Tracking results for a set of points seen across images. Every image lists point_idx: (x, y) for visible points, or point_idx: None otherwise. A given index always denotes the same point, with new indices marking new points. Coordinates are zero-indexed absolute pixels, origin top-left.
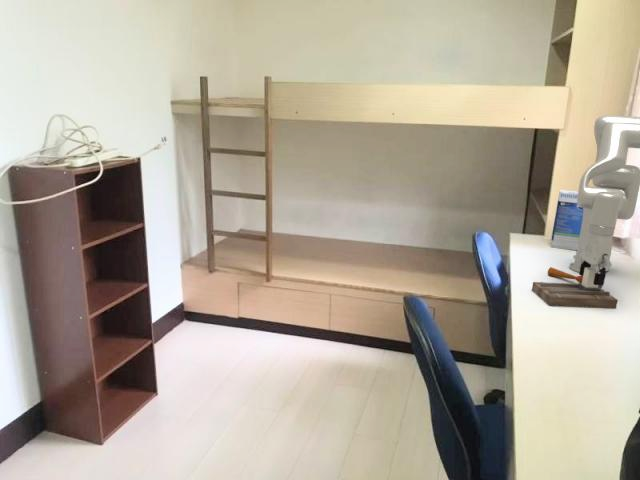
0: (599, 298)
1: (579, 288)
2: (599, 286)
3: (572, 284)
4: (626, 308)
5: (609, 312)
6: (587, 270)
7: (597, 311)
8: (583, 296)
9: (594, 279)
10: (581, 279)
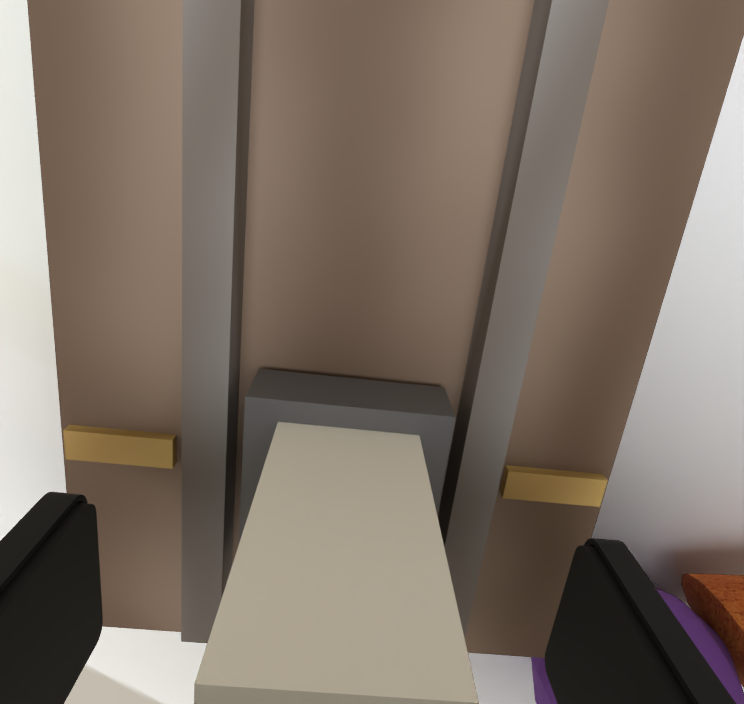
0: (65, 442)
1: (408, 385)
2: (533, 680)
3: (491, 326)
4: (139, 639)
5: (5, 436)
6: (305, 653)
7: (7, 324)
8: (137, 274)
9: (8, 556)
10: (733, 608)
